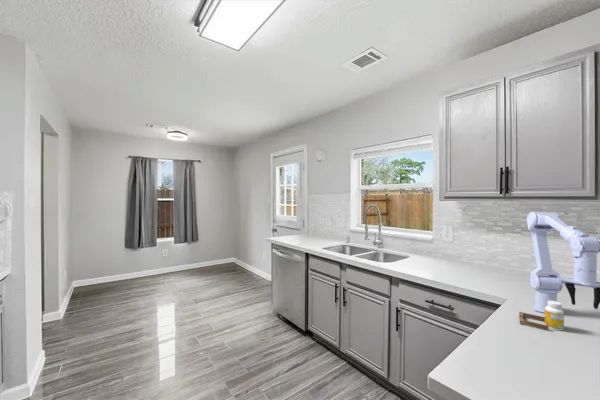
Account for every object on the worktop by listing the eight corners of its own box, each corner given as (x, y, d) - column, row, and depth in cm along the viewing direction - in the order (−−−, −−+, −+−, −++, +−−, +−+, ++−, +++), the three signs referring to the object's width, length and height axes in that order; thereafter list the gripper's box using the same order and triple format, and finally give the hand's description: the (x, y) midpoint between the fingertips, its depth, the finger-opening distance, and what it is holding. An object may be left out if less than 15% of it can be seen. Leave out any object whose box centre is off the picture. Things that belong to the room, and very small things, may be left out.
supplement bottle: (544, 322, 108) (544, 298, 108) (562, 327, 104) (563, 302, 104) (545, 327, 104) (545, 302, 104) (564, 332, 100) (565, 306, 100)
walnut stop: (519, 315, 115) (519, 311, 114) (545, 321, 109) (545, 317, 109) (519, 324, 106) (519, 320, 106) (548, 330, 101) (548, 326, 101)
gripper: (559, 268, 100) (558, 304, 100) (618, 275, 91) (617, 315, 91) (556, 264, 106) (556, 298, 106) (612, 271, 97) (611, 308, 97)
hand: (584, 306), depth 99 cm, fingers open, 5 cm apart
